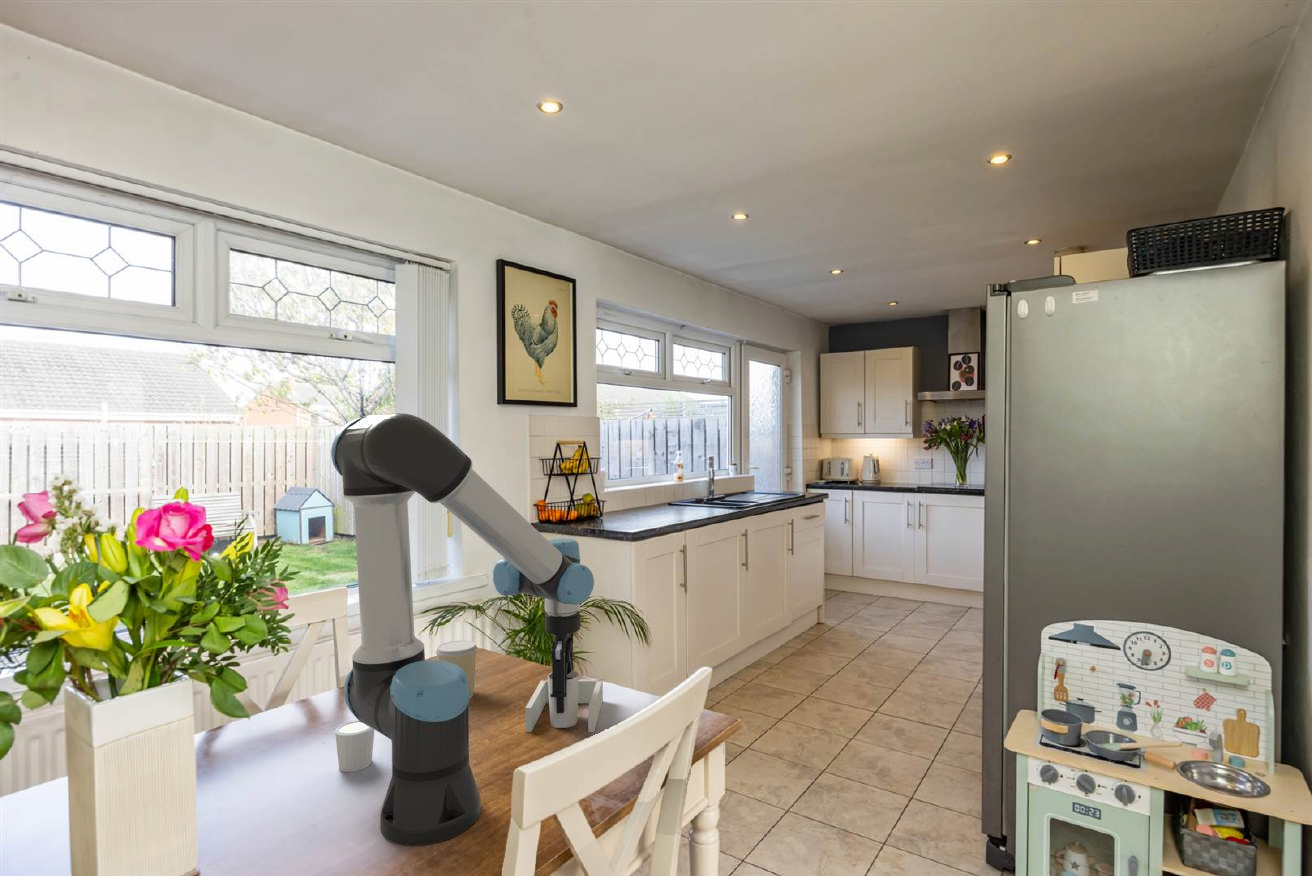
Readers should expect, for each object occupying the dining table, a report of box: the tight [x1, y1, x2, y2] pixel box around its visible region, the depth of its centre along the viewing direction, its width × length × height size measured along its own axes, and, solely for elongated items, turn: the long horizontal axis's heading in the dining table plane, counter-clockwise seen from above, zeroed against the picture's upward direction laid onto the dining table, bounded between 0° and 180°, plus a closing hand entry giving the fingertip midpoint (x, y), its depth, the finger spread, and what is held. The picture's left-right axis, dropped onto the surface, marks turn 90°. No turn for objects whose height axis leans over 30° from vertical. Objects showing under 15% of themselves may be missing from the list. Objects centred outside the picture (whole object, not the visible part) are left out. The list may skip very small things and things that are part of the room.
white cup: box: [547, 670, 580, 728], centre depth 143 cm, size 7×7×10 cm
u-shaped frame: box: [524, 679, 604, 733], centre depth 146 cm, size 14×17×5 cm
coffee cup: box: [435, 639, 478, 699], centre depth 159 cm, size 9×9×12 cm
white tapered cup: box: [334, 720, 376, 773], centre depth 125 cm, size 7×7×7 cm
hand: (563, 720), depth 143 cm, fingers closed on white cup, 6 cm apart
